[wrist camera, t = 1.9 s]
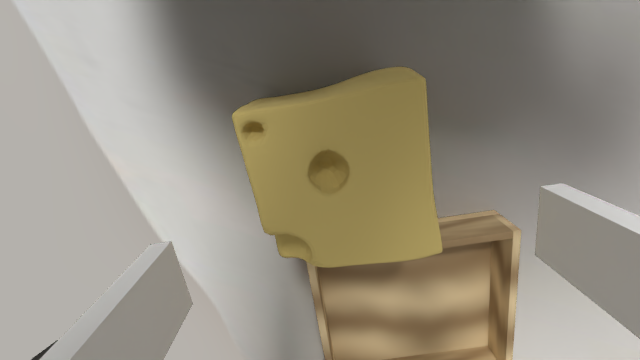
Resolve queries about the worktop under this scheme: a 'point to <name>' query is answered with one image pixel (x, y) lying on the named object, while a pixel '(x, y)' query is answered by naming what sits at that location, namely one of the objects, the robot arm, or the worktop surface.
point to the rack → (426, 298)
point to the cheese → (344, 170)
